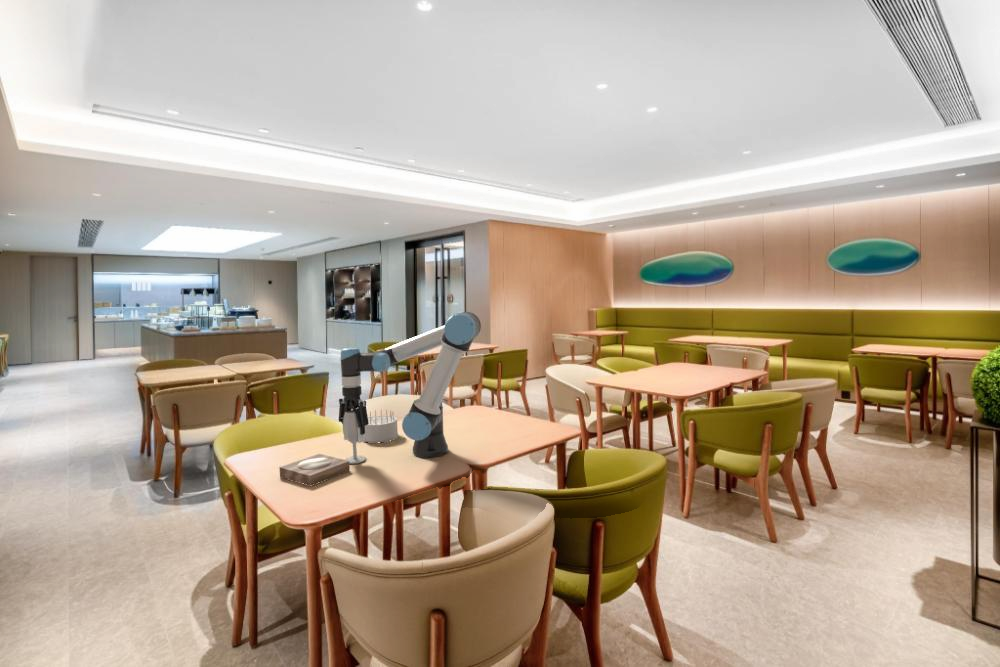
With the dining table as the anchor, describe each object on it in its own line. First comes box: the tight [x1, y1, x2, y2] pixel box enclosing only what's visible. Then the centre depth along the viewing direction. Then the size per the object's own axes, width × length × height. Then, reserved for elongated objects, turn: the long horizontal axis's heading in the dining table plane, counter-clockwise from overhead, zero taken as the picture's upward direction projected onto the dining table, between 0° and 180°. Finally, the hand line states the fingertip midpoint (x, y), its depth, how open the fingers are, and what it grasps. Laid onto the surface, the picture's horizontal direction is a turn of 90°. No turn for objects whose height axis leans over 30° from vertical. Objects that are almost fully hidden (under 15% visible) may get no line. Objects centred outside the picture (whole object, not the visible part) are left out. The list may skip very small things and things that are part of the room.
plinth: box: [279, 453, 351, 486], centre depth 194 cm, size 18×18×4 cm
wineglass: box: [342, 409, 367, 465], centre depth 207 cm, size 9×9×21 cm
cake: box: [363, 409, 400, 444], centre depth 241 cm, size 18×18×13 cm
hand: (354, 440), depth 207 cm, fingers closed on wineglass, 8 cm apart
